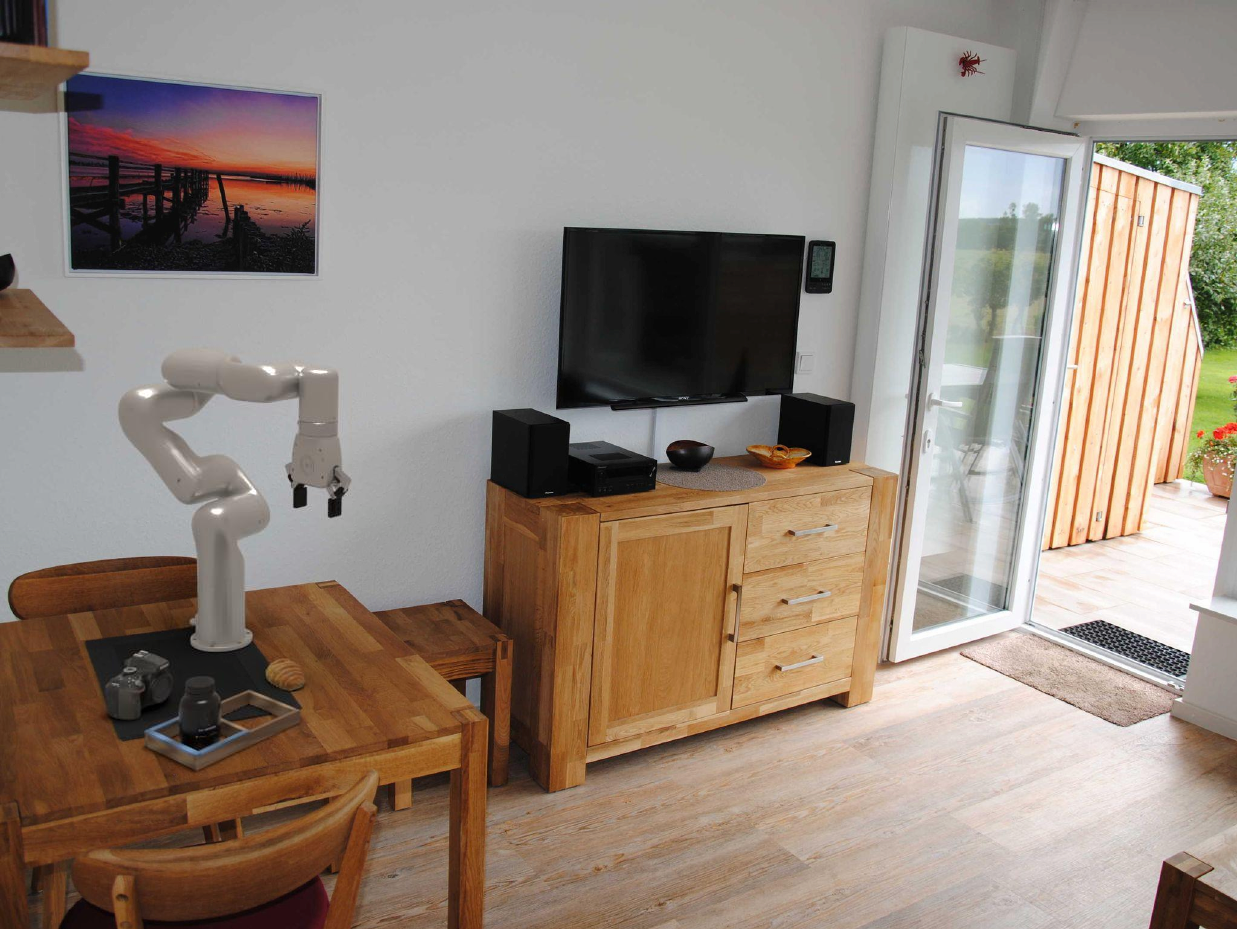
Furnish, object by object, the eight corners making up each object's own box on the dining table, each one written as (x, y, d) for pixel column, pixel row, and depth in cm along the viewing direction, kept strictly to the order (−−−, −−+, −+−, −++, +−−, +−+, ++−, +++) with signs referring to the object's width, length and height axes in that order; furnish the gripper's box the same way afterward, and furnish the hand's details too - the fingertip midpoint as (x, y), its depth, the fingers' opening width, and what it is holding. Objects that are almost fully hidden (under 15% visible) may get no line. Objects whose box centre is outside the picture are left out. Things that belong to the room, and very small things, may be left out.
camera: (159, 722, 189) (158, 671, 187) (101, 721, 188) (99, 669, 186) (180, 690, 202) (179, 642, 200) (126, 689, 201) (125, 641, 199)
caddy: (144, 746, 180) (143, 730, 180) (249, 701, 199) (248, 687, 199) (197, 771, 174) (196, 755, 173) (300, 722, 193) (300, 708, 192)
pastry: (313, 688, 208) (313, 670, 207) (281, 696, 203) (281, 678, 202) (293, 671, 214) (293, 654, 214) (261, 679, 210) (261, 661, 209)
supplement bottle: (206, 757, 178) (205, 692, 176) (170, 751, 179) (169, 686, 177) (228, 739, 185) (228, 676, 182) (194, 733, 186) (193, 670, 183)
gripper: (272, 424, 208) (272, 507, 211) (336, 438, 199) (334, 524, 203) (301, 420, 214) (300, 500, 218) (363, 433, 206) (362, 516, 210)
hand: (317, 511), depth 210 cm, fingers open, 9 cm apart
